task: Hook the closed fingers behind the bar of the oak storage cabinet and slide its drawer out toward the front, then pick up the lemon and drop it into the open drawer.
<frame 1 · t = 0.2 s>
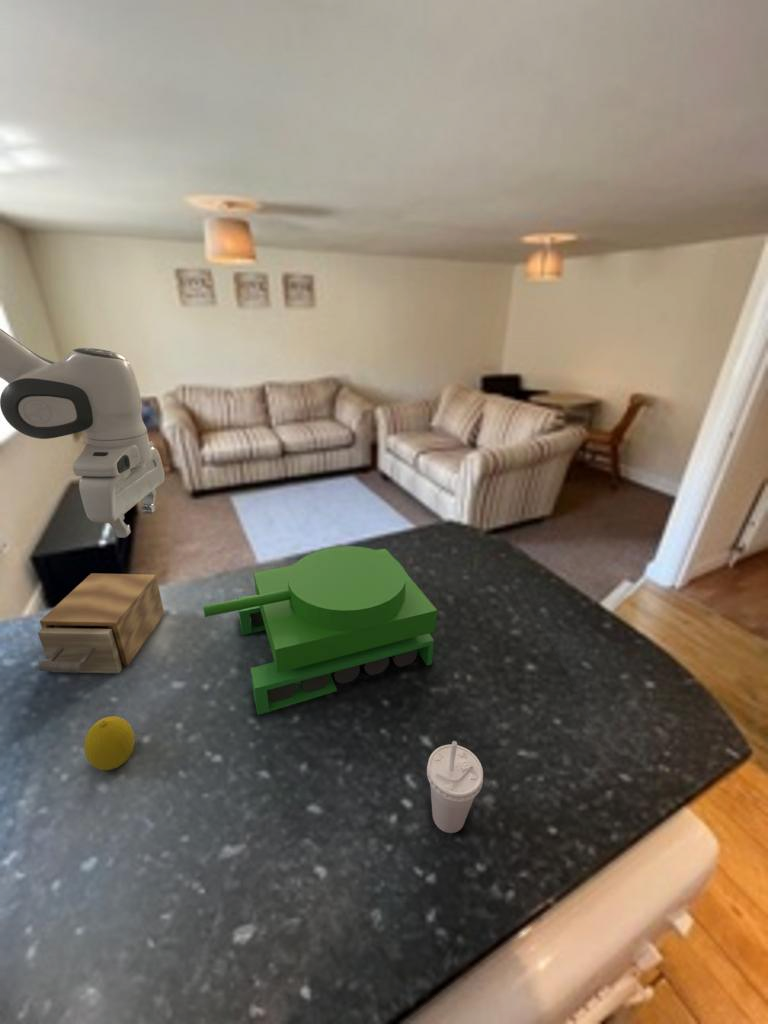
hand: (137, 523, 81), 20 cm above the worktop, tool pointing down, fingers open, 8 cm apart
tank: (316, 649, 82), on the worktop
smoothie: (447, 822, 55), on the worktop
drawer: (94, 636, 76), point 5 cm above the worktop, slide at 0.5 cm
cabinet: (115, 641, 82), on the worktop
lemon: (117, 764, 61), on the worktop
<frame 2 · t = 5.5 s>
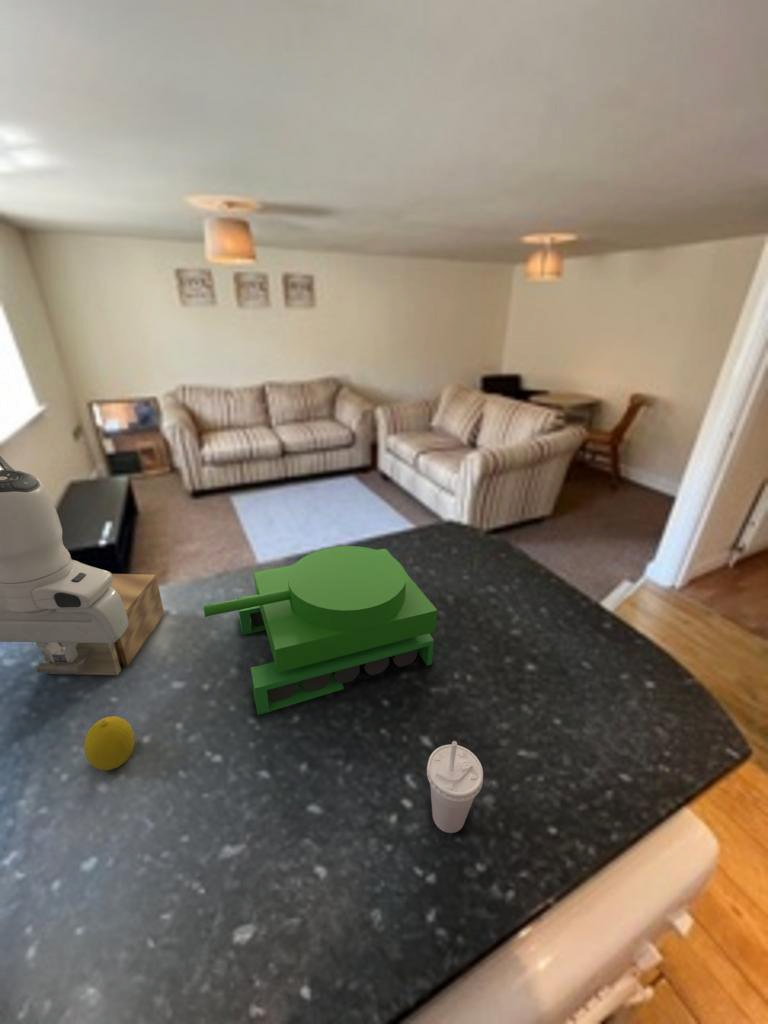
hand: (65, 659, 69), 7 cm above the worktop, tool pointing down, fingers closed, pressing on drawer
drawer: (93, 637, 75), point 5 cm above the worktop, slide at 0.9 cm, touching gripper
everything else where it was.
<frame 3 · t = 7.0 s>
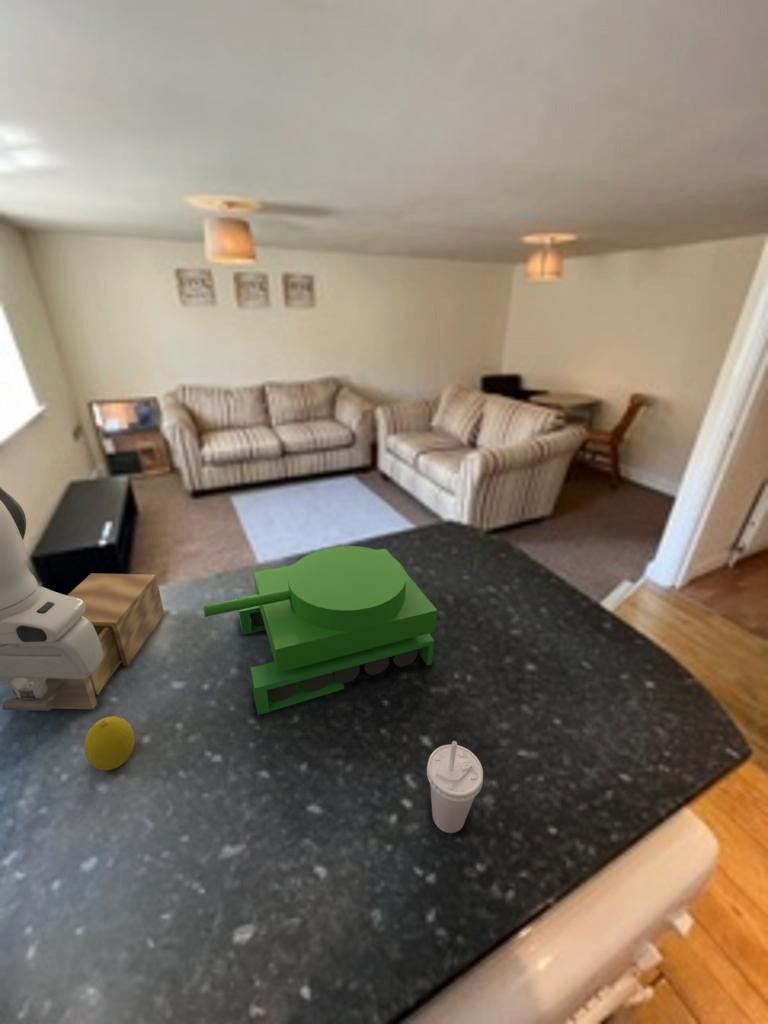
hand: (34, 694, 62), 7 cm above the worktop, tool pointing down, fingers closed, pressing on drawer
drawer: (67, 667, 69), point 5 cm above the worktop, slide at 7.8 cm, touching gripper
everything else where it was.
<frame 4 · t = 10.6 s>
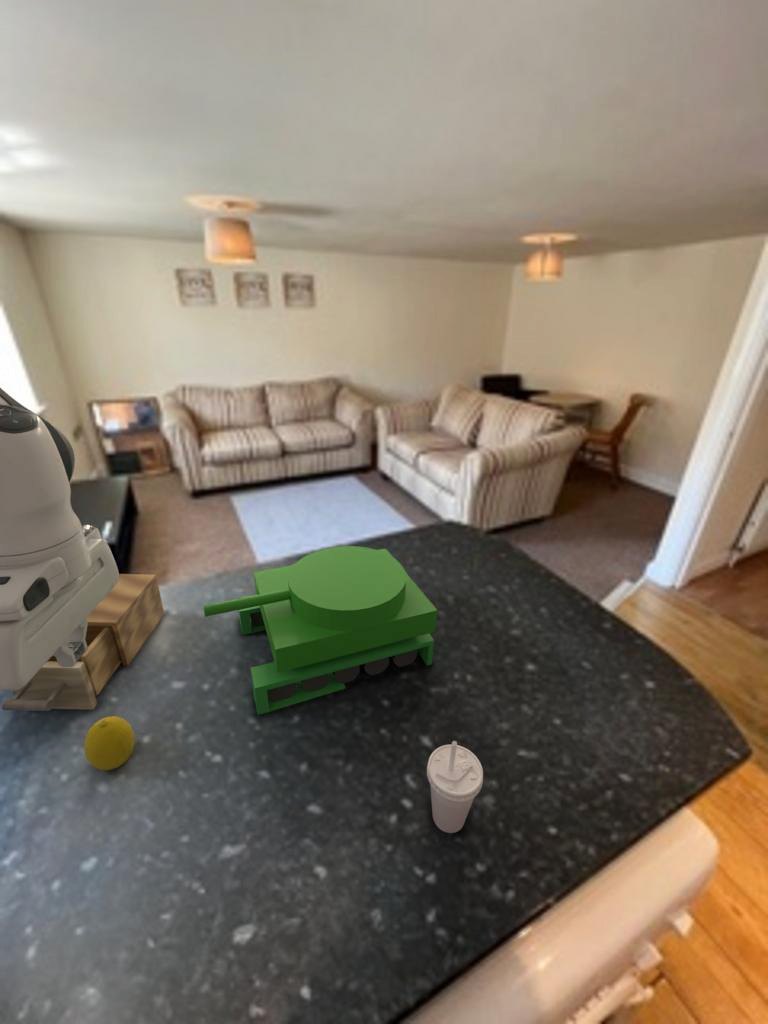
hand: (74, 658, 54), 18 cm above the worktop, tool pointing down, fingers closed
drawer: (67, 667, 69), point 5 cm above the worktop, slide at 7.8 cm
everything else where it was.
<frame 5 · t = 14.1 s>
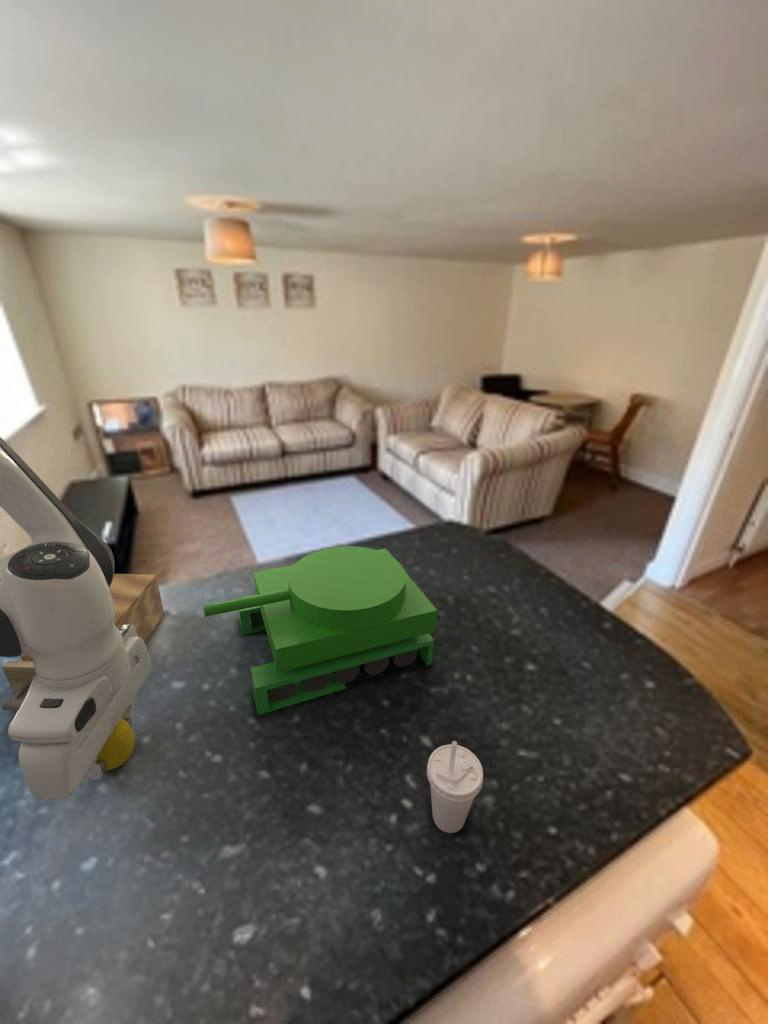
hand: (112, 750, 59), 3 cm above the worktop, tool pointing down, fingers closed on lemon, 5 cm apart
lemon: (117, 764, 61), on the worktop, touching gripper
everything else where it was.
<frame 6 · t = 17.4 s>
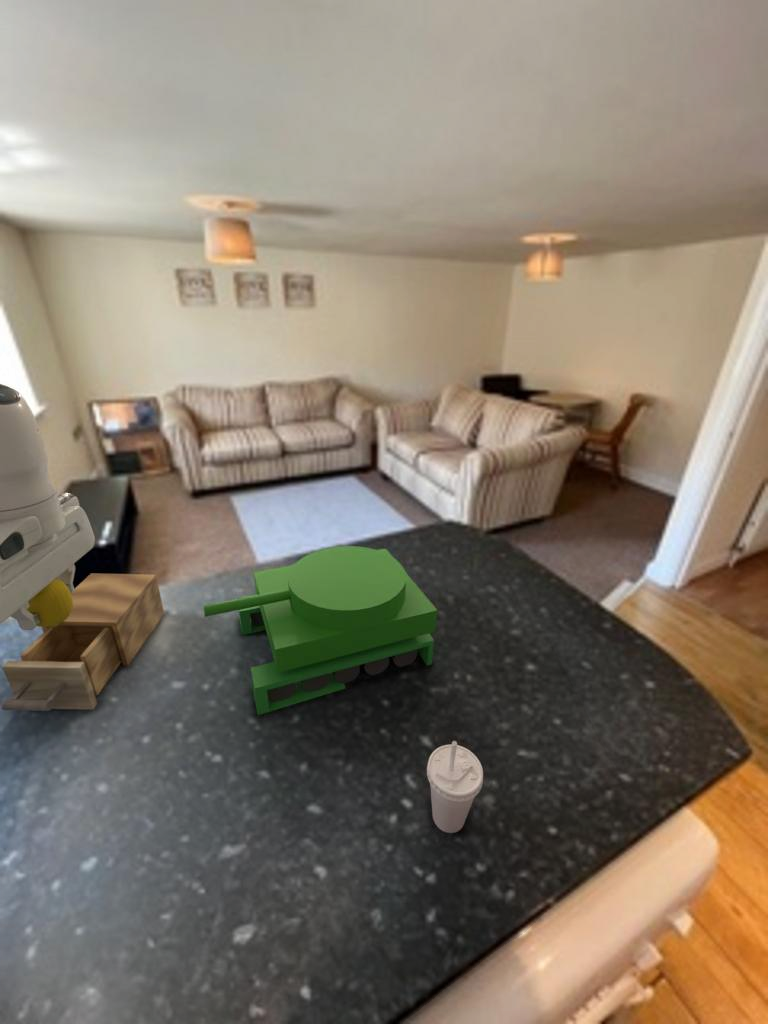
hand: (49, 610, 61), 18 cm above the worktop, tool pointing down, fingers closed on lemon, 5 cm apart
lemon: (55, 627, 62), point 15 cm above the worktop, touching gripper
everything else where it was.
when the fingers open (10 cm above the worktop, at t = 20.7 s): lemon drops 5 cm, resting on drawer.
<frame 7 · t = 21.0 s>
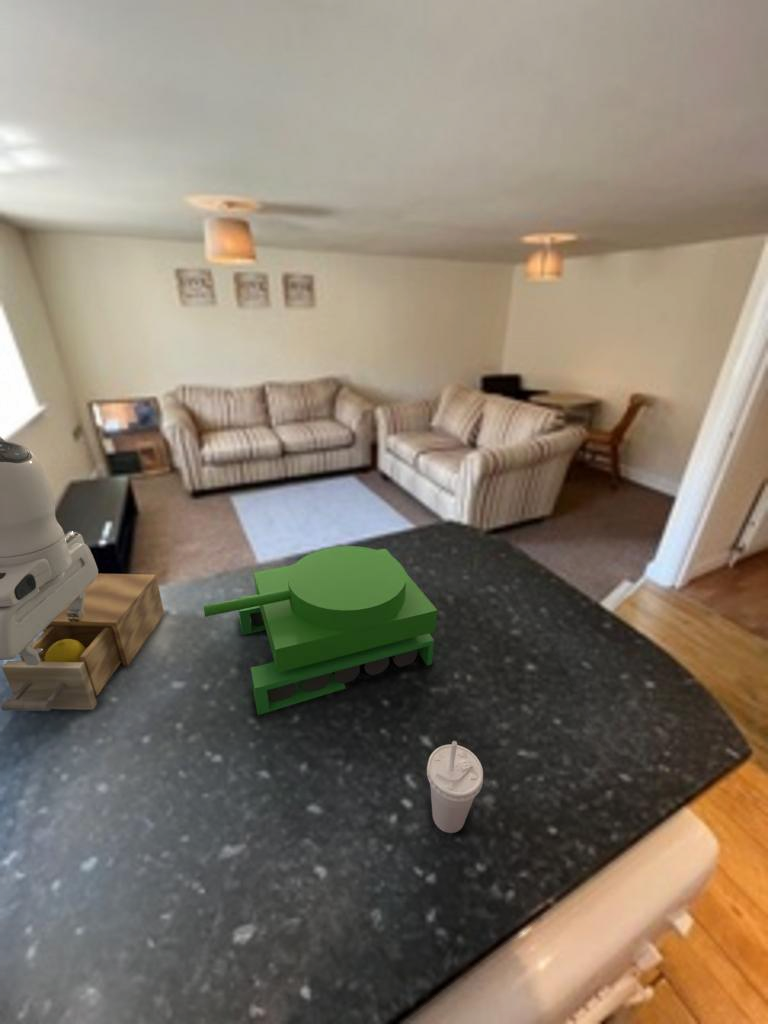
hand: (58, 639, 67), 10 cm above the worktop, tool pointing down, fingers open, 8 cm apart
drawer: (66, 667, 69), point 5 cm above the worktop, slide at 7.9 cm, touching lemon
lemon: (72, 681, 71), point 2 cm above the worktop, touching drawer
everything else where it was.
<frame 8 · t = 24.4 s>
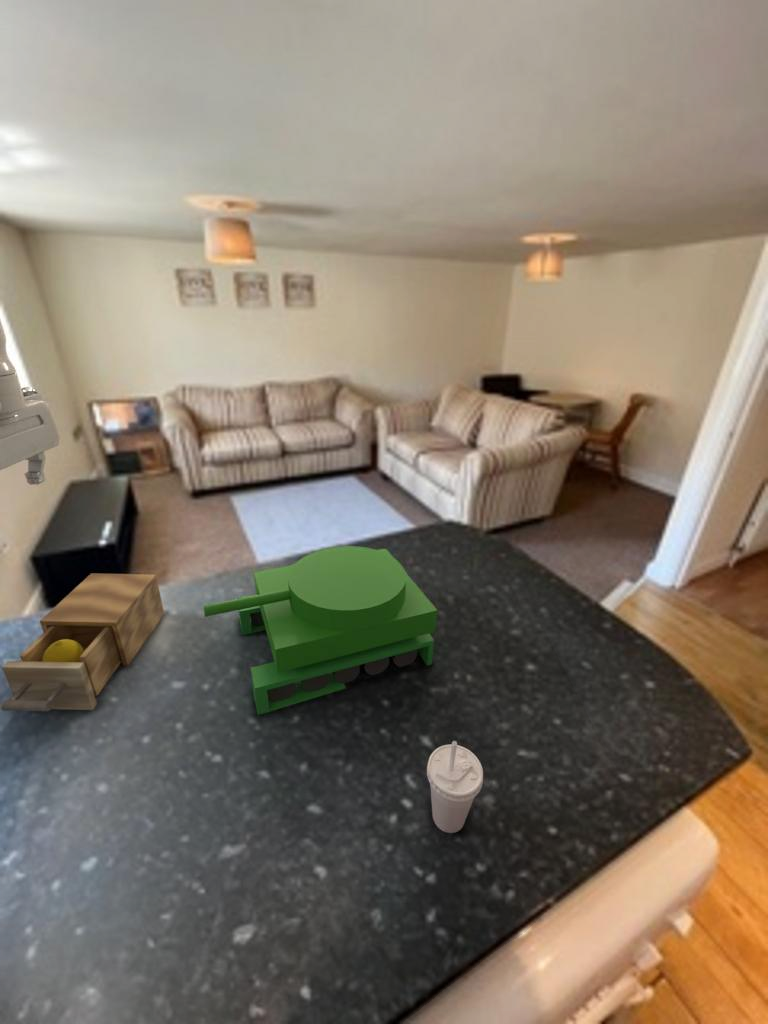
hand: (14, 494, 64), 31 cm above the worktop, tool pointing down, fingers open, 8 cm apart
nothing on the worktop moved.
at the end: drawer slide at 7.9 cm; lemon inside the target area in the drawer (0.6 cm from its centre), point 1.8 cm above the cabinet's base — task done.
